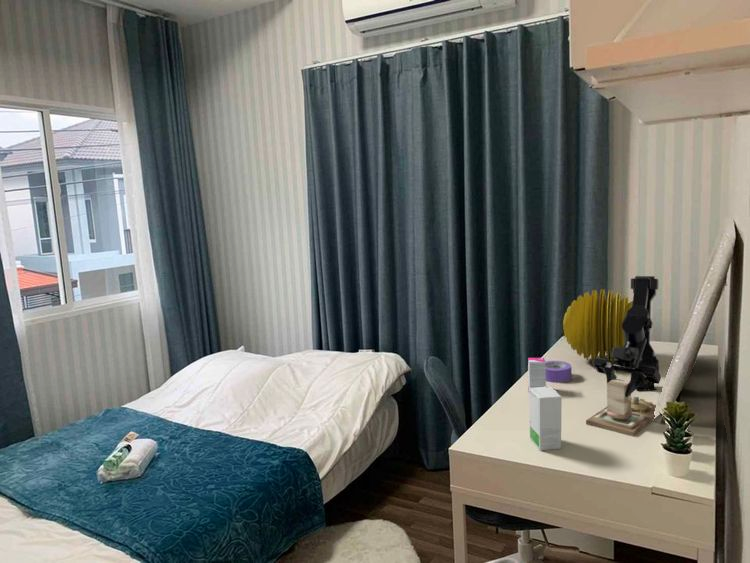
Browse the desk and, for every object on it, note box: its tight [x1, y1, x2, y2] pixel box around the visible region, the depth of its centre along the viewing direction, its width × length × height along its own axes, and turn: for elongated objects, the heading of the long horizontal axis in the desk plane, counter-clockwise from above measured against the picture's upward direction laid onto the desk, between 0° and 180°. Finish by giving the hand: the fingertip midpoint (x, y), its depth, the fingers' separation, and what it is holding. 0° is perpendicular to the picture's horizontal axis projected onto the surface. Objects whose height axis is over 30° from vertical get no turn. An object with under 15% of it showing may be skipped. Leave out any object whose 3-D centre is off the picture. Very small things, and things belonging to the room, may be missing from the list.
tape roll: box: [545, 360, 573, 383], centre depth 212 cm, size 12×12×5 cm
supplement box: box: [527, 357, 547, 394], centre depth 200 cm, size 6×6×12 cm
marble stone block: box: [606, 378, 632, 419], centre depth 168 cm, size 7×7×10 cm
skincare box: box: [528, 385, 563, 452], centre depth 157 cm, size 8×7×16 cm
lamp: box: [562, 288, 633, 364], centre depth 224 cm, size 30×30×30 cm
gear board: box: [585, 396, 657, 437], centre depth 172 cm, size 24×14×4 cm, turn 133°
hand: (617, 394), depth 167 cm, fingers closed on marble stone block, 5 cm apart
